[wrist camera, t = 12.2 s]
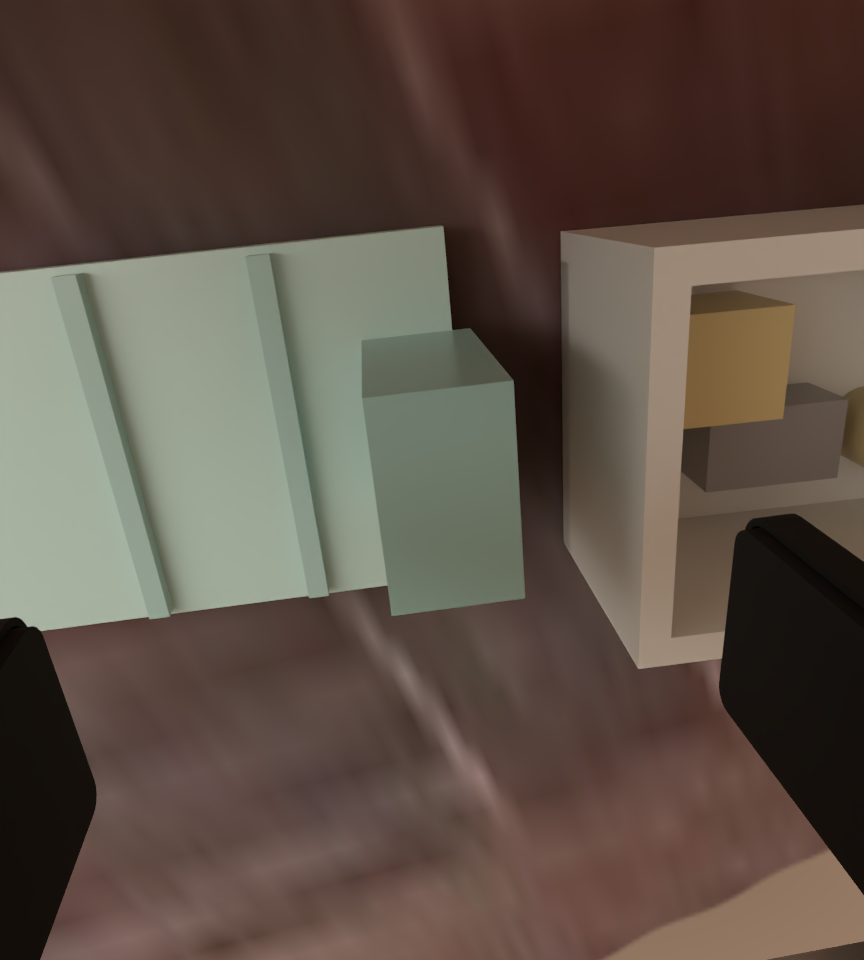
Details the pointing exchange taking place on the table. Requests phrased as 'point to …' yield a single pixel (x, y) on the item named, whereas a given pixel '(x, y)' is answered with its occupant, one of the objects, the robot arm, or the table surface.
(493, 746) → the table surface
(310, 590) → the lid
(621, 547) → the tub
